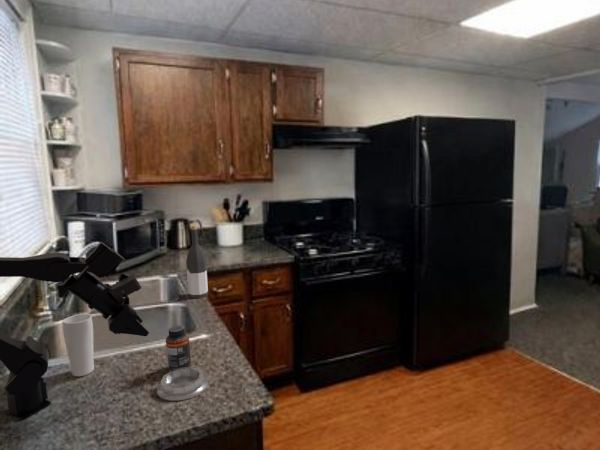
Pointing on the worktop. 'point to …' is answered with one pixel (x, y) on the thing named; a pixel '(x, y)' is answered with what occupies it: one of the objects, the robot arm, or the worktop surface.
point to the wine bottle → (196, 268)
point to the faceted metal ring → (182, 384)
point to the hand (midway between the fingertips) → (144, 328)
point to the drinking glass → (79, 343)
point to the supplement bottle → (178, 348)
